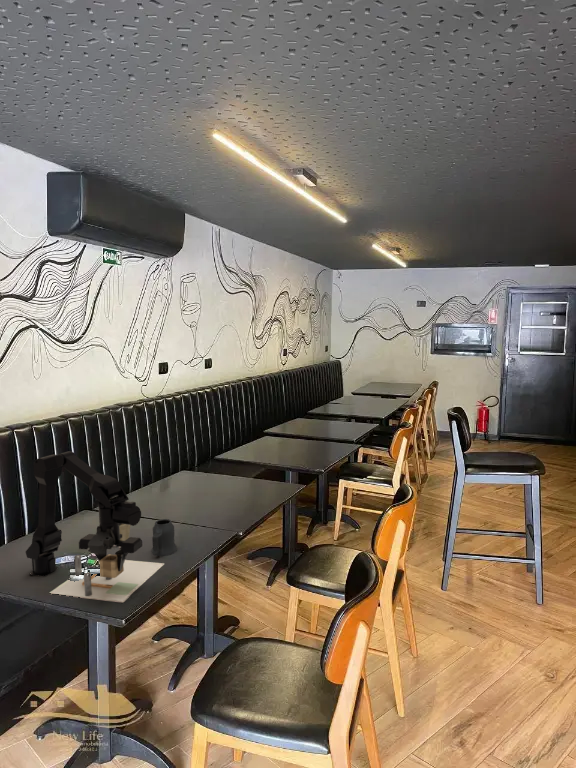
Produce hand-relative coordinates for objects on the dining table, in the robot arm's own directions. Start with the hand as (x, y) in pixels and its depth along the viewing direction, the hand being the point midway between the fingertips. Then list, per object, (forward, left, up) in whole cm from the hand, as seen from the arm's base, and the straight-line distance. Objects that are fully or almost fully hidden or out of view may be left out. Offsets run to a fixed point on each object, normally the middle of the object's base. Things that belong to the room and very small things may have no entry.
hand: (112, 570), depth 169 cm
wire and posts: (-9, +2, -6) cm, 10 cm away
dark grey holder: (+3, +28, -6) cm, 29 cm away
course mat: (-5, +6, -6) cm, 10 cm away
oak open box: (0, 0, -1) cm, 1 cm away
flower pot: (-17, +33, -6) cm, 38 cm away
